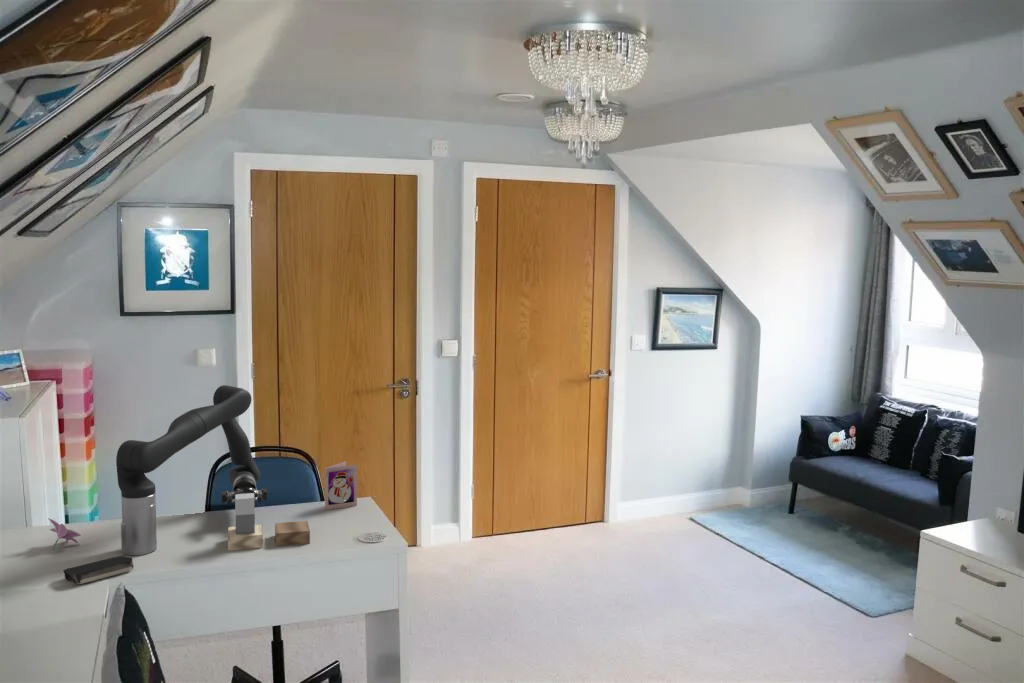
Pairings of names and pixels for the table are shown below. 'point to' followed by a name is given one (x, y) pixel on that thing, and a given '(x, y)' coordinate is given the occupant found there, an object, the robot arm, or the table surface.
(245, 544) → the birch stand
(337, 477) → the greeting card
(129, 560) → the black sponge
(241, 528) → the block
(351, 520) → the table surface
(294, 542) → the walnut stand
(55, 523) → the lily
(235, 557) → the table surface
